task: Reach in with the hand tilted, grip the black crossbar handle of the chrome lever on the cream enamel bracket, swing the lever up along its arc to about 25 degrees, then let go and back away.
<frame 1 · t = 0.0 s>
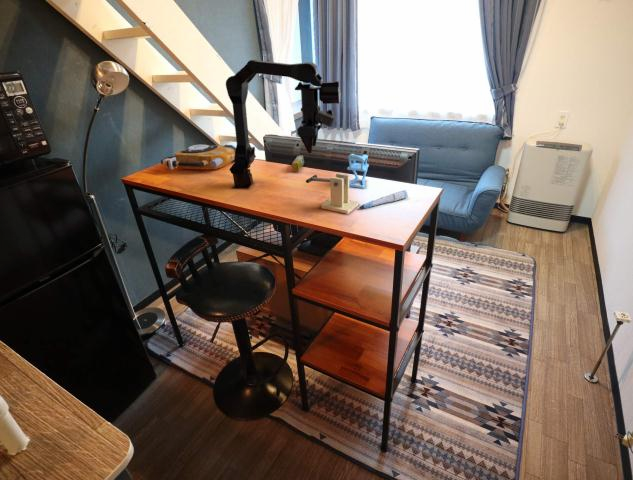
hand: (312, 149, 125), 15 cm above the table, tool pointing down, fingers open, 9 cm apart
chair: (357, 184, 134), on the table
bracket: (339, 206, 116), on the table
pen: (384, 203, 117), on the table
lever: (326, 180, 114), point 9 cm above the table, hinge at -5.0°
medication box: (298, 168, 153), on the table
device: (202, 167, 160), on the table
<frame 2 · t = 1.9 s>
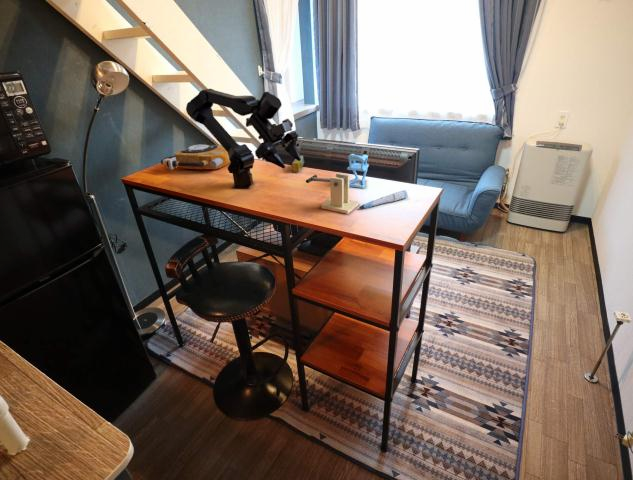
hand: (292, 163, 119), 12 cm above the table, tool tilted 45°, fingers open, 9 cm apart
nothing on the table moved.
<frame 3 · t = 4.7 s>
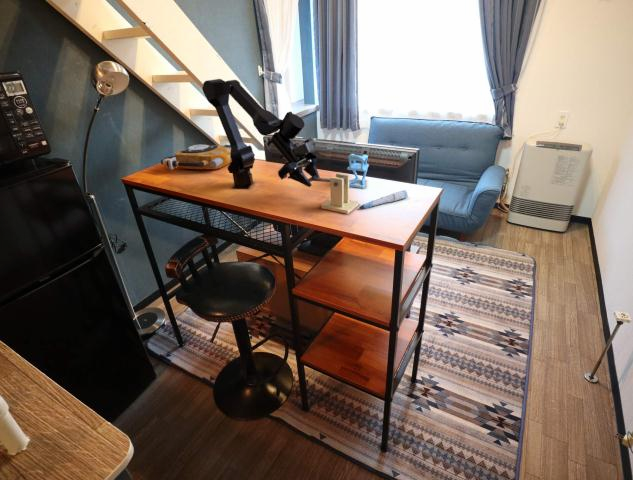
hand: (315, 183, 117), 7 cm above the table, tool tilted 45°, fingers closed on lever, 5 cm apart
lever: (326, 180, 114), point 9 cm above the table, hinge at -5.0°, touching gripper
everything else where it was.
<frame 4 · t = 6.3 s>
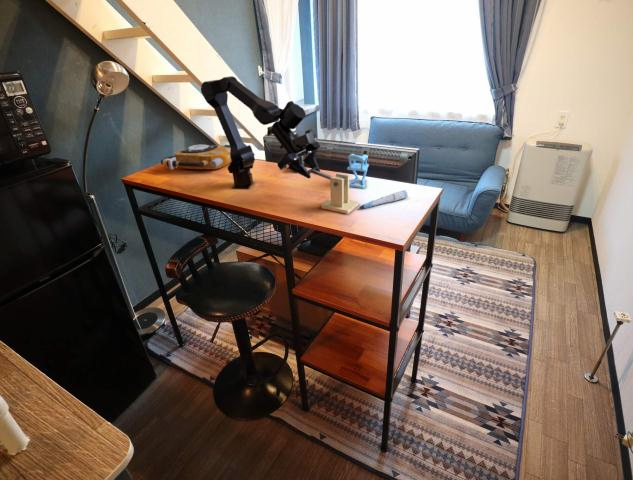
hand: (314, 175, 116), 10 cm above the table, tool tilted 45°, fingers closed on lever, 5 cm apart
lever: (326, 176, 114), point 10 cm above the table, hinge at 10.5°, touching gripper
everything else where it was.
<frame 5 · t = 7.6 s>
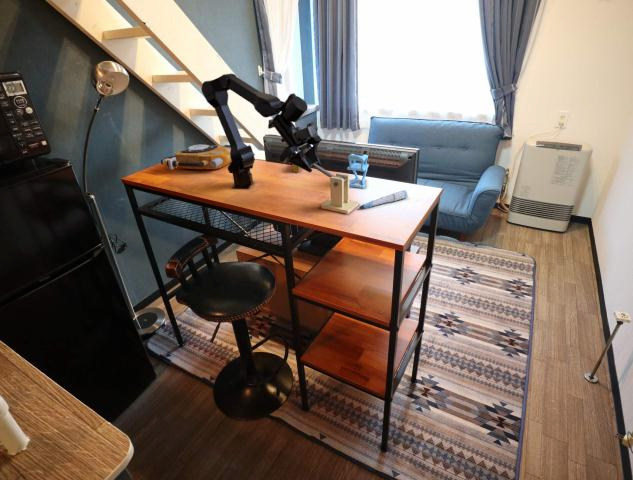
hand: (315, 169, 115), 12 cm above the table, tool tilted 40°, fingers closed on lever, 5 cm apart
lever: (327, 173, 113), point 11 cm above the table, hinge at 22.4°, touching gripper
everything else where it was.
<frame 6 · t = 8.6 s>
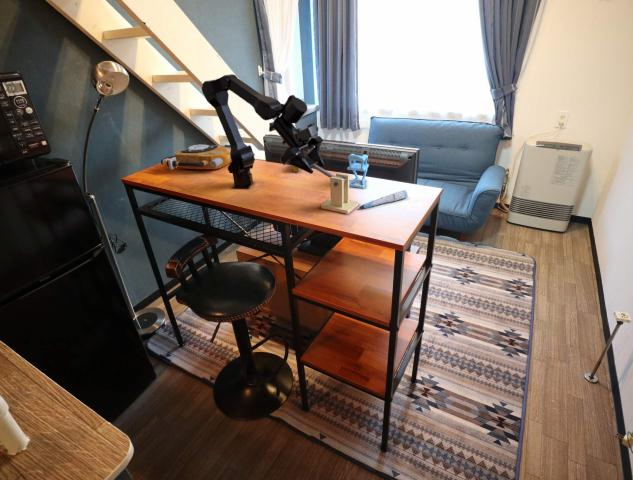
hand: (318, 169, 114), 12 cm above the table, tool tilted 45°, fingers open, 7 cm apart
lever: (327, 173, 113), point 11 cm above the table, hinge at 21.5°
everything else where it was.
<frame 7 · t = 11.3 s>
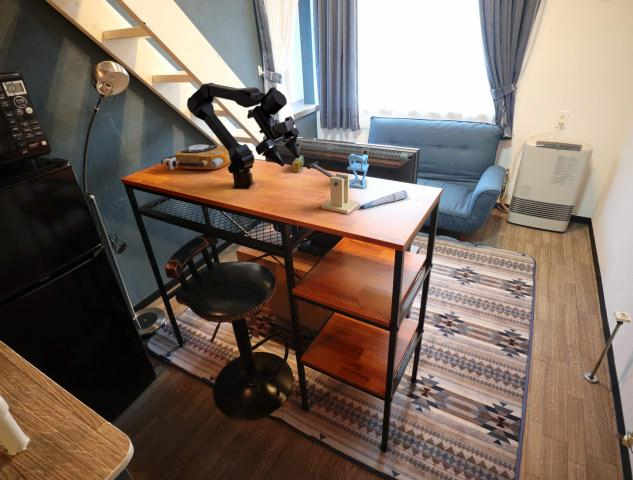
hand: (291, 161, 120), 13 cm above the table, tool tilted 35°, fingers open, 9 cm apart
nothing on the table moved.
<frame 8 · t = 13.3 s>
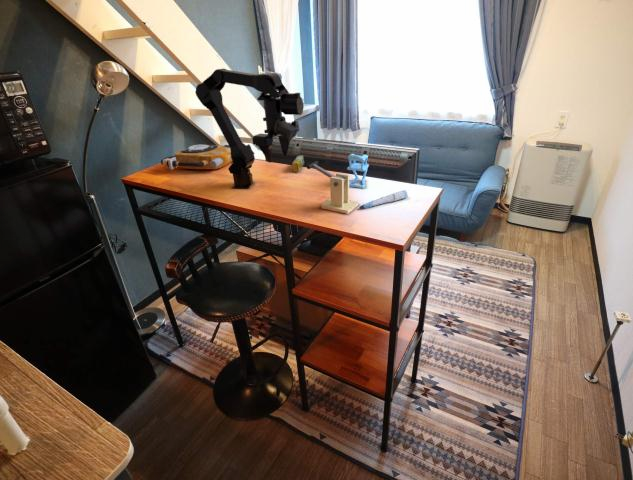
hand: (277, 158, 126), 12 cm above the table, tool pointing down, fingers open, 9 cm apart
nothing on the table moved.
at the end: lever reached +22° during the clip, +22° at the end; lever at +22° (first picture: -5°); the gripper is holding nothing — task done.
